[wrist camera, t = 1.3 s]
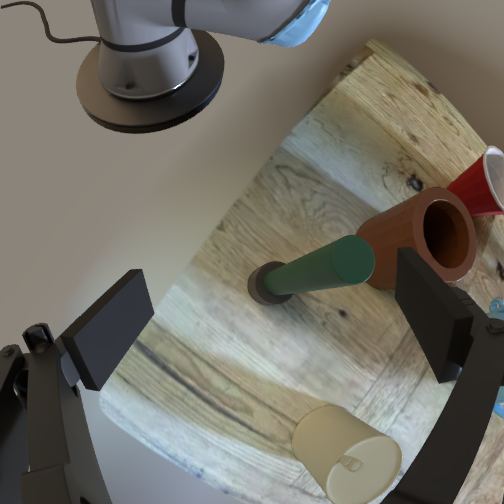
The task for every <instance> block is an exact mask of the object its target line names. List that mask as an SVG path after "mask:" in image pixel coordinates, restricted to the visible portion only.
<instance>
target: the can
mask: <svg viewBox="0 0 504 504" xmlns="http://www.w3.org/2000/svg"><path fill="white" fill-rule="evenodd" d="M292 450H293V452H294V455H295V456H296V458H297V459H298V460H299V461H301V462H302V463H303V465H304V466H305V467H306V469H307V470H308V471H309V473H310V474H311V475H312V476H313V478H314V479H315V480H316V482H317V483H318V484H319V486H320V487H321V488H322V490H323V491H324V492H325V494H326V496H327V498H328V499H329V500H330V501H331V502H332V503H333V504H367V503H369V502H371V501H373V500H375V499H376V498H378V497H379V496H381V495H382V494H383V493H384V492H385V491H386V490H388V488H389V487H390V486H391V485H392V484H393V482H394V481H395V480H396V478H397V476H398V474H399V472H400V470H401V467H402V462H403V452H402V448H401V446H400V444H399V443H398V442H397V441H396V440H395V439H394V438H392V437H390V436H387V435H385V434H383V433H381V432H380V431H378V430H376V429H375V428H373V427H371V426H370V425H368V424H366V423H365V422H363V421H361V420H360V419H358V418H357V417H355V416H354V415H352V413H351V412H350V411H348V410H347V409H345V408H343V407H340V406H324V407H321V408H318V409H316V410H314V411H312V412H310V413H309V414H307V415H306V416H305V417H304V418H303V419H302V420H301V421H300V422H299V424H298V425H297V427H296V428H295V430H294V433H293V436H292Z"/></svg>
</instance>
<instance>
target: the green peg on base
mask: <svg viewBox="0 0 504 504" xmlns="http://www.w3.org/2000/svg"><path fill="white" fill-rule="evenodd" d="M374 266H375V257H374V253H373V250H372V248H371V246H370V245H369V244H368V242H367V241H365V240H364V239H363V238H361V237H358V236H355V235H349V236H345V237H343V238H341V239H339V240H337V241H334V242H332V243H330V244H328V245H326V246H324V247H322V248H320V249H318V250H315V251H313V252H311V253H309V254H307V255H305V256H303V257H300V258H298V259H296V260H294V261H292V262H290V263H288V264H285V263H282V262H278V261H273V262H269V263H266V264H265V265H263V266H261V267H260V268H258V269H256V270H255V271H254V272H253V273H252V274H251V275H250V277H249V279H248V291H249V294H250V295H251V297H252V298H253V299H254V300H255V301H256V302H258V303H261V304H281V303H284V302H286V301H288V300H289V299H290V298H291V297H292V296H293V294H294V293H300V292H308V291H315V290H322V289H330V288H337V287H344V286H350V285H357V284H361V283H363V282H365V281H366V280H368V279H369V277H370V276H371V274H372V273H373V270H374Z"/></svg>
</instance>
